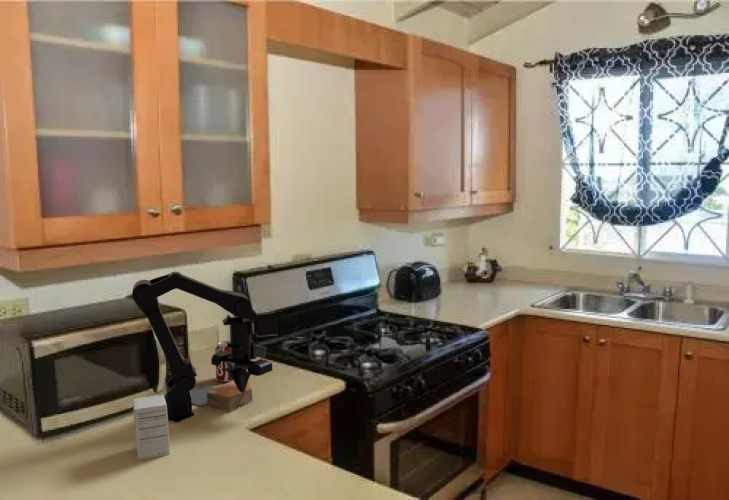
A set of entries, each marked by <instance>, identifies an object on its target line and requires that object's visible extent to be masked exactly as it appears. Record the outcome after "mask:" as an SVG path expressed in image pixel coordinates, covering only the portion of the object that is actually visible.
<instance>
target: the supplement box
mask: <svg viewBox="0 0 729 500" xmlns="http://www.w3.org/2000/svg"><path fill="white" fill-rule="evenodd" d="M164 397H165V395H164V394H156V395H149V396H144V397H143V396H142V397H137V398H133V399H132V410H133V421H134V422H133V423H134V424H133V425H134V436H135V437H134V438H135V448H136V456H137V460H139V461H141V460H147V459H152V458H157V457H158V458H159V457H162V456H163V457H164V456H168V455H170V453H171V452H170V439H169V420H168V415H167V404H166V401H165V398H164Z"/></svg>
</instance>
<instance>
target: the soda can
mask: <svg viewBox="0 0 729 500" xmlns="http://www.w3.org/2000/svg"><path fill="white" fill-rule="evenodd" d="M229 342H230V340H223V341H219V342H218V343H217V344H216V347H215V349H214V350H215V351H214V352H215V353H214V354H217V353H219V352H222V351H229V352H231V349H230V347H227V343H229ZM226 368H227V363H226V362H222V361H221V364H220V365H219V366H215V373H216V374H215V376H216V378H215V379H216V380H217V381H219V382H222V383H229V382H231V381H233V379H232V377H231V376H230V374H229V373H228V371H226Z"/></svg>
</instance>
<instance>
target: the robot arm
mask: <svg viewBox="0 0 729 500" xmlns="http://www.w3.org/2000/svg"><path fill="white" fill-rule="evenodd" d="M176 289H177V290H179V291H182V292H184V293H187V294H190V295H193V296H195V297H198V298H201V299H203V300H206V301H209V302H210V303H213V304H216V305H217V306H219V307H220V308H222V309H223V310H224V311H227V312H228V313H230V314H231V315H234V316H233V317H232V316H230V314H227V315H226V316H225V318H224V319H222V321H221V322H222V324H223V326H229V341H230V342H229V343H227V347H230V349H231V352H229V351H222V352H219V353H217V354H215V353H214V354H213V355H212V357H211V358H210V360H211V365H212V366H215V367H216V366H219V365H220V364H221V361H222V362H226V363H227V368H226V371H228V373H229V374H230V376H231V377H232V379H233V381H234V382H235V384H236V386H237V388H238V389H239V391H240V392H241V393H243V392H244V391H245V389H246V386H247V383H248V382H249V379H250V377H251V375H252V376H255V377H260V376H263V375H265V374H267V373H270V372H272V371H273V362H271V360H267V359H265V358H266V353H267V347H266V346H263V345H262V346H261V345H257V344H256V342H255V341H254V340H252V334H253V335H256V337H257V338H262V337H273V336H278V335H279V325H278V320H277V313H276V312H275V311H267V312H258V313H257V312H256V310H255V309H253V308H252V304H251V301H250V299H249V298H248V297H247V296H246V295H245V294H244V293H242V292H237V291H233V290H224V289H221V288H217V287H215V286H212V285H209V284H207V283H204V282H202V281H199V280H196V279H195V278H193V277H190V276H188V275H184V274H183V273H181V272H179V271H172V272H169V273H168V274H165V275H161V276H158V277H154V278H152V279H149V280H147V279H141V280H138V281H137V282H135V283H134V285H133V287H132V290H131V291H132V293H131V297H132V300H133V301H134V303H135V304H136V305H137V307H138V308H139V309H140V311H141V312H142V313H143V314H144V315H145V317H146V318H147V319H148V322H149V324H150V326H151V328H152V331H153V333H154V335H155V337H156V339H157V342H158V343H159V345H160V348H161V350H162V352H163V353H164V354H163V355H164V356H165V358H166V360H167V362H168V366H169V371H170V375H171V378H170V379H169V380H168V381H167V382H166V383H165V396H164V398H165V401H166V404H167V415H168V421H171V422H173V423H180V422H182V421H185V420H187V419H189V418H190V417H191V418H192V417H193V416H196V413H195V412H194V411H193V407H192V406H193V404H192V401H191V396H190V392H189V391H190V390H192V389H193V388H195V386H196V384H197V380H196V379H197V378H196V377H197V376H198V374H197V370H196V367H195V366H194V365H193V363H192V361H191V356H188V357H187V358H185V357H184V356H183V354H181V352H180V350H179V347H178V345H177V343H176V340H175V338H174V336H173V334H172V332H171V330H170V328H169V325H168V324H167V321H166V318H165V317H164V314H163V312H162V310H161V307H160V302H159V298H158V297H161V296H163V295H165V294H167V293H169V292H172V291H173V290H176ZM243 317H244V318H243ZM251 332H252V333H251ZM257 357H259V358H260V359H257ZM256 359H257V360H256ZM254 360H255V361H254Z"/></svg>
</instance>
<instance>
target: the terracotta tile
mask: <svg viewBox="0 0 729 500" xmlns="http://www.w3.org/2000/svg"><path fill="white" fill-rule="evenodd" d="M215 388H216V389H217V394H218V395H221V396H225V397H228V398H230V397H232V396H235V395H237V394H239V393H241V392H240V391H239V389H238V388H237V386H236V384H235V382H234V381H231V382H225V383H224V384H222V385H219V386H217V387H215ZM249 388H250V381H248V383H247V386H246V389H245V391H246V390H248V389H249Z"/></svg>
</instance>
